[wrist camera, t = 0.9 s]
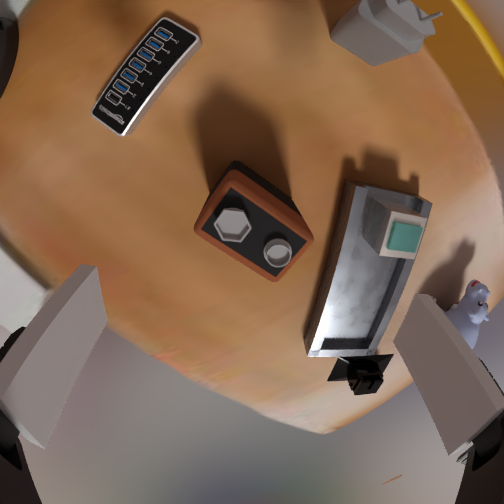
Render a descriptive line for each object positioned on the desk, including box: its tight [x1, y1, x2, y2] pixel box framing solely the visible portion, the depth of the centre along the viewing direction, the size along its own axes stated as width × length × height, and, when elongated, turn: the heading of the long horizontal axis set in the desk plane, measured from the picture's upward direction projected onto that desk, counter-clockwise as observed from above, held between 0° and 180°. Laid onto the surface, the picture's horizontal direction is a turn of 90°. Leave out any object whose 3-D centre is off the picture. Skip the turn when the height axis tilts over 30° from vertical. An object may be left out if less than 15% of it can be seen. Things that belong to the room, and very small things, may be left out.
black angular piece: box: [327, 354, 394, 395], centre depth 35 cm, size 12×7×5 cm, turn 83°
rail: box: [304, 180, 432, 357], centre depth 27 cm, size 20×9×6 cm, turn 173°
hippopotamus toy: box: [430, 280, 490, 350], centre depth 28 cm, size 11×15×10 cm
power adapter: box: [330, 0, 442, 66], centre depth 13 cm, size 3×5×12 cm, turn 64°
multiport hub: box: [91, 17, 202, 136], centre depth 19 cm, size 4×11×2 cm, turn 140°
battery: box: [194, 161, 314, 282], centre depth 21 cm, size 4×7×10 cm, turn 54°
